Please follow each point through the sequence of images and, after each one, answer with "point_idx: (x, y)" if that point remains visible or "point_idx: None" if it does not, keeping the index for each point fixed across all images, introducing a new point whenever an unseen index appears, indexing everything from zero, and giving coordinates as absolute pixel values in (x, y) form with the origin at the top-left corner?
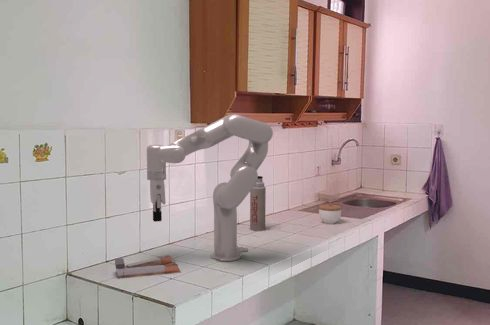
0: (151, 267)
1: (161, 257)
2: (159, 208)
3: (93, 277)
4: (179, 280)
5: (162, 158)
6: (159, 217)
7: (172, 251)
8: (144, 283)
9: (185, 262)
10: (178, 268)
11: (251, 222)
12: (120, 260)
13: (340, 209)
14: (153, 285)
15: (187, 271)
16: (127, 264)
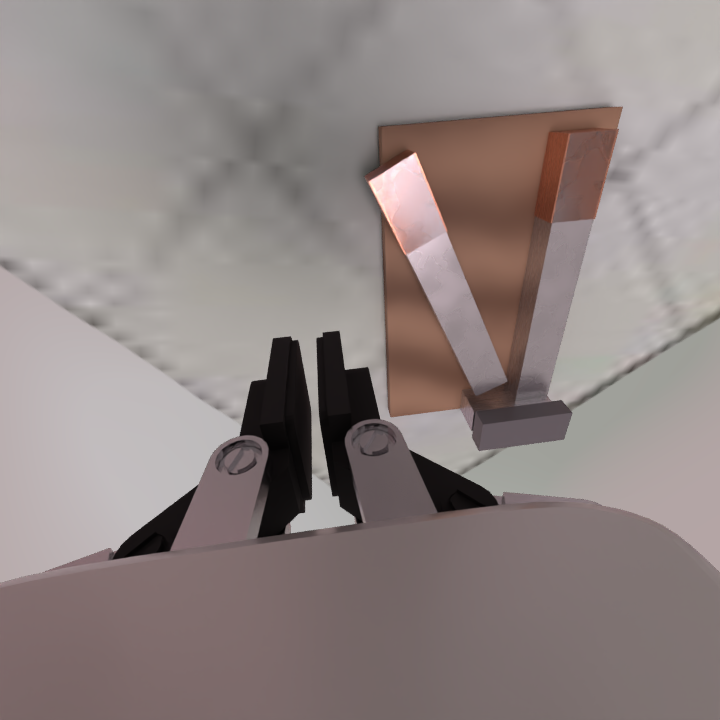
0: (563, 288)
1: (412, 228)
2: (510, 498)
3: (455, 458)
4: (672, 130)
5: None
6: (370, 380)
7: (38, 106)
8: (610, 301)
9: (352, 29)
10: (540, 117)
11: None
12: (513, 430)
13: None
14: (656, 265)
15: (553, 49)
16: (474, 389)
